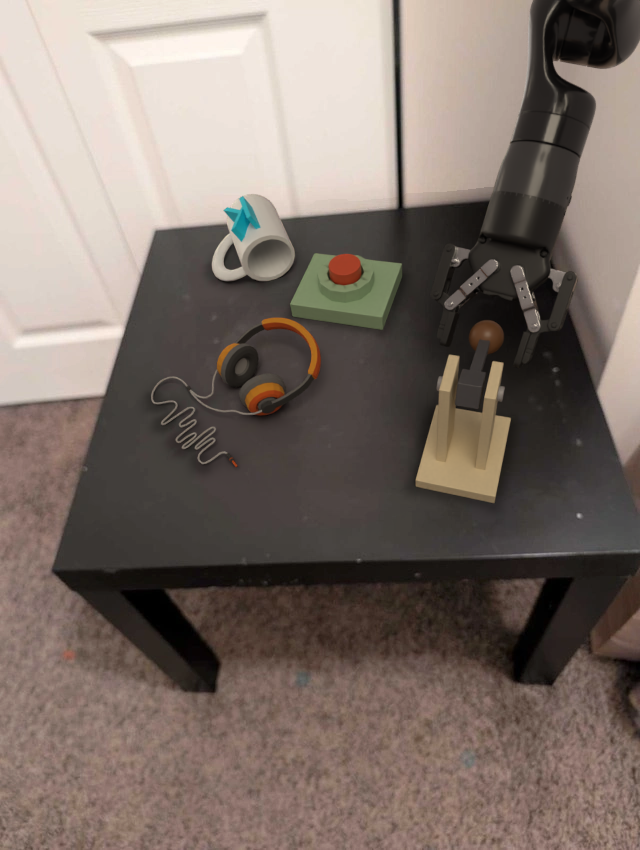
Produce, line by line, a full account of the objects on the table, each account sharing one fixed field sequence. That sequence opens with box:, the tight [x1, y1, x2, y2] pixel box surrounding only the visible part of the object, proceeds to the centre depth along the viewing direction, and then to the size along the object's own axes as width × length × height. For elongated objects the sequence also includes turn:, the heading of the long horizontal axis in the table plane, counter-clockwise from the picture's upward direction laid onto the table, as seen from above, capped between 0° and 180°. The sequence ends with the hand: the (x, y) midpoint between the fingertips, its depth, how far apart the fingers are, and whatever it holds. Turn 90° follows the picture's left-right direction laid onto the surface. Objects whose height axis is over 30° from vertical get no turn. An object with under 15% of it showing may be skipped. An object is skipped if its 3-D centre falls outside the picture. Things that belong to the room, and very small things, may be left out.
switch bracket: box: [415, 354, 512, 504], centre depth 65 cm, size 10×8×13 cm
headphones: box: [150, 317, 322, 468], centre depth 77 cm, size 17×5×20 cm
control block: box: [289, 252, 403, 331], centre depth 85 cm, size 12×10×4 cm
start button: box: [329, 253, 362, 285], centre depth 83 cm, size 4×4×2 cm
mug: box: [211, 193, 296, 282], centre depth 91 cm, size 12×9×12 cm
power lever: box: [455, 319, 505, 410], centre depth 66 cm, size 14×4×4 cm, turn 162°
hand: (480, 356), depth 71 cm, fingers open, 7 cm apart
